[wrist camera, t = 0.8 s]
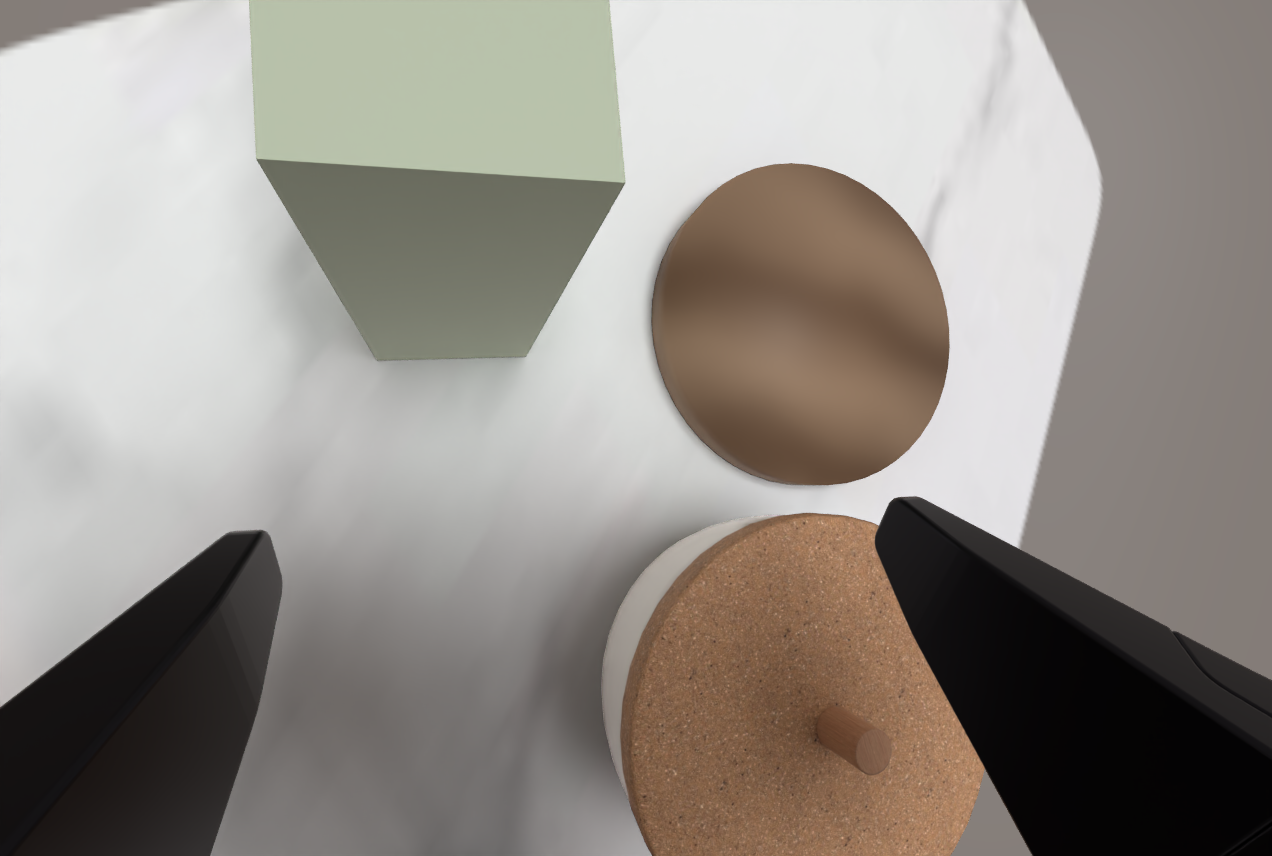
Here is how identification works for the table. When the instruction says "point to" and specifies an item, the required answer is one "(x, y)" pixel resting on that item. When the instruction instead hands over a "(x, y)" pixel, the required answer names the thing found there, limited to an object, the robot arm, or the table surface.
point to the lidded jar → (781, 700)
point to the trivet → (801, 326)
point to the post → (440, 158)
